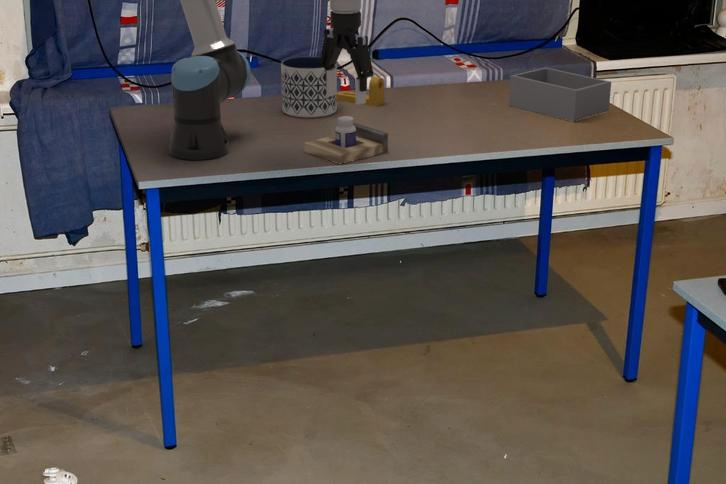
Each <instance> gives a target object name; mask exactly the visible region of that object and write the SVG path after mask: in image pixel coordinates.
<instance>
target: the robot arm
mask: <svg viewBox="0 0 726 484" xmlns="http://www.w3.org/2000/svg"><path fill="white" fill-rule="evenodd" d="M180 5H181V6H182V11H183V13H184V16H185V19H186V22H187V25H188V29H189V32H190V35H191V39H192V42H193V45H194V49H193V51H192V53H191V54H190V55H191V56H190V57H185V58H182V59H179V60H178V61H176V62H175V63H174V64H173V66H172V68H171V78H170V82H171V90H172V92H171V93H172V102H173V119H174V122H173V123H174V124H173V129H172V131H171V135H170V140H169V142H168V143H169V145H168V146H169V148H168V149H169V154H170V156H171V157H174V158H177V159H181V160H190V161H191V160H192V161H200V160H201V161H202V160H211V159H216V158H219V157H223V156H225V155H226V154H228V153H229V152H230V141H229V138H228V137H227V134H226V130H225V128H224V126H223V123H222V118H221V103H223V102H224V101H226V100H228V99H230V98H231V99H232V98H234V97H236V96H237V95H239V94H240V93H241V92H243V91H244V90H245V88H247V86H248V84H249V82H250V78H251V66H250V63H249V60H248V59H247V58H246V57H245V55H244V54H242V53H241V52H240V51H238V50H237V47H236V46H237V45H236V43H235V41H234V40H231V39H230V38H229V37H227V34H226V31H225V28H224V25H223V24H224V23H223V21H222V17H221V15H220V14H221V13H220V11H219V7H218V5H217V2H216V0H180ZM329 9H330V10H331V11H330V13H329V15H330V19H329V22H330V23H329V24H330V27H331V28H326V29H324V30H323V34H324V36H323V38H324V39H323V43H322V49H321V54H320V56H319V57H320V62H319V64H320V66H323V67H324V69H325V77H326V82H327V96H332V95H337V93H338V68H337V69H333V68H336V66H335V64H336V62H338V59H339V58H340V55H341V53H342V51H343V50H344V51H345V50H346V53H347V54H349V56H350V59H351V62H352V65H353V68H354V70H355V72H356V75H357V77H355V93H356V103H355V105H356V106H357V105H358V106H359V105H363V104H364V103H366V95H367V91H368V78H370V77H371V78H372V77H374V69H373V64H372V59H371V54H370V50H369V37H368V35H360V32H359V28H360V27H361V26H362V12H361V11H360V10H361V9H362V0H329ZM325 59H326V60H325ZM324 60H325V61H324Z"/></svg>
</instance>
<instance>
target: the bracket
mask: <svg viewBox="0 0 726 484" xmlns="http://www.w3.org/2000/svg"><path fill="white" fill-rule="evenodd" d="M337 101H340V102H346V103H352V104H356V92H352V91H337ZM384 104H385V79H384V78H383V77H379V76H378V77H377V76H371V78H370V80H369V84H368V94H366V103H364V104H362V105H365V106H369V107H379V106H381V105H382V106H383V105H384Z"/></svg>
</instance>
